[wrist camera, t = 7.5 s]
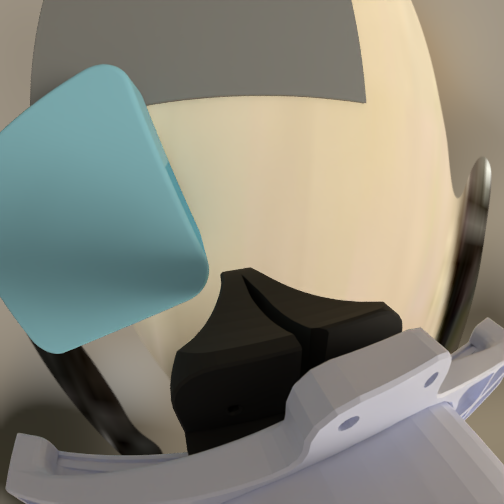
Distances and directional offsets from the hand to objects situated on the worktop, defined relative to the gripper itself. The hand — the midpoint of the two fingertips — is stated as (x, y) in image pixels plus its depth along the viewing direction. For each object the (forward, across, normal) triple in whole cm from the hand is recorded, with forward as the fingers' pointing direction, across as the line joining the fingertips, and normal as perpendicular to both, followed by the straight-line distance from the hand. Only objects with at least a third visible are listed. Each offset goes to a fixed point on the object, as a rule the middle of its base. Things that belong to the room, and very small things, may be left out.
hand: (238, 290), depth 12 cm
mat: (+6, 0, -16) cm, 17 cm away
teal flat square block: (+3, +2, -5) cm, 7 cm away
